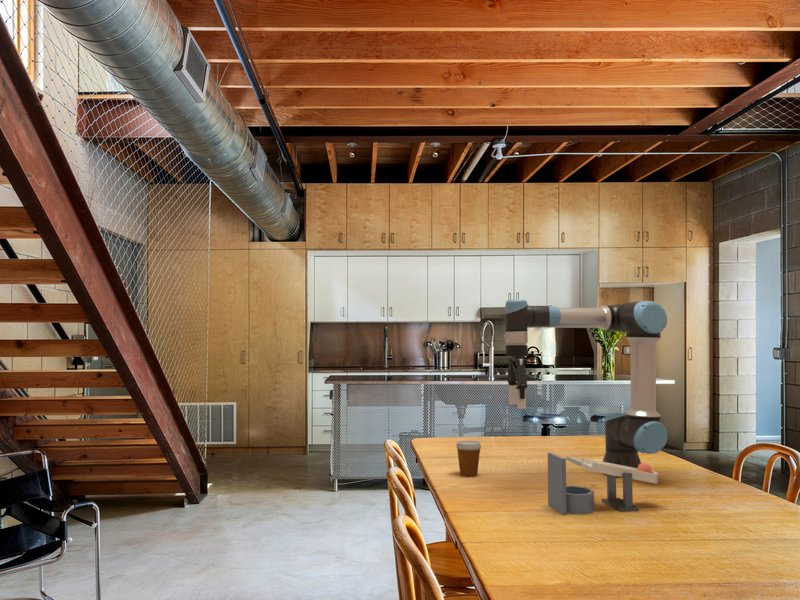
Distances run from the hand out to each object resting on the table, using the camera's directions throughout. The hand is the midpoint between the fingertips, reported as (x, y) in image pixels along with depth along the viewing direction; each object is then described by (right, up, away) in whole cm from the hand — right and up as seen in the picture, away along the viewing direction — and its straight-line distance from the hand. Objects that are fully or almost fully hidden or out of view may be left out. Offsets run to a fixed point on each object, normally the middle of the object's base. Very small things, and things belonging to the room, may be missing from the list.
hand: (517, 406), depth 213 cm
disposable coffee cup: (-15, -29, +19) cm, 38 cm away
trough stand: (+27, -27, -23) cm, 44 cm away
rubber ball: (+35, -16, -21) cm, 44 cm away
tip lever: (+26, -18, -17) cm, 36 cm away
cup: (+12, -27, -26) cm, 39 cm away
